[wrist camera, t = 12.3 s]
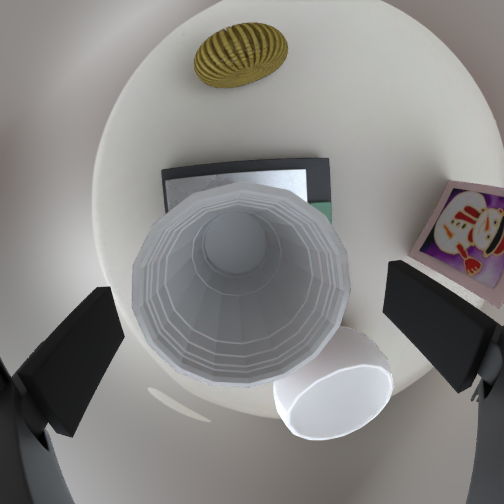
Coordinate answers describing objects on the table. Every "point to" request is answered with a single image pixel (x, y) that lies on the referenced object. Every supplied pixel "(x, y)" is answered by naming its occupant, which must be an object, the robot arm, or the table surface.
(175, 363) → the plastic cup
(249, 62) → the sculpture
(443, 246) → the greeting card
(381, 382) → the cup
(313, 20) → the table surface
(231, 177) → the scale
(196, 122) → the table surface
